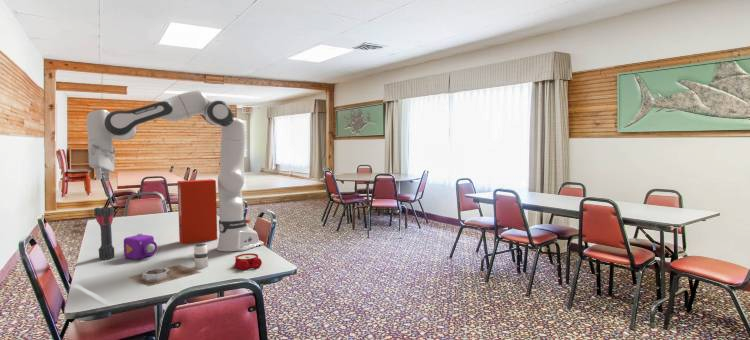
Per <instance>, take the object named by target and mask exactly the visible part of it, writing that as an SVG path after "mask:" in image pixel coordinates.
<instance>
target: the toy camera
mask: <svg viewBox="0 0 750 340" xmlns="http://www.w3.org/2000/svg"><path fill="white" fill-rule="evenodd" d="M157 250H158V244H157V243H156V241H155V239H154V236H153V235H148V234H143V233H137V234H136V235H132V236H128V237H124V238H123V254H124V255H123V256H124V257H125V258H126V259H132V260H141V259H144V258H148V257H152V256H154V255H155V253H156V251H157Z"/></svg>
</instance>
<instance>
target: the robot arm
mask: <svg viewBox="0 0 750 340" xmlns="http://www.w3.org/2000/svg"><path fill="white" fill-rule="evenodd" d="M197 115H200V116H201V117H202V118H203V120H204V121H205V122H207V124H209V125H212V126H219V128H220V129H221V137H220V138H221V141H220V155H219V156H220V157H219V158H220V159H219V161H220V162H219V174H218V177H217V191H218V192H217V193H218V194H217V195H218V206H219V208H218V209H219V220H218V231H219V234H218V235H219V236H218V242H217V248H216V250H217V251H219V252H242V251H247V250H250V249H254V248H257V247H260V246H263V245H264V242H263V241H262V240H259V239H260V237H259V235H258V232H257V231H256V230H254V229H252V228H251V227H249V226H248V224H250V223H251V219H249V218H245V217H244V201H243V192H242V190H243V187H244V184H245V149H246V125H245V122H244V121H243V120H242V119H240V118H238V117H235V115H234V113H233V111H232V108H231V106H230V105H229V104H228V103H227V102H226V101H224V100H214V101H210V100H209V99H208V97H207V95H206V94H205V93H204V92H202V91H201V90H192V91H191V90H190V91H186V92H183V93H180V94H177V95H174V96H171V97H169V98H166V99H163V100H161V101H158V102H155V103H152V104H148V105H145V106H142V107H141V106H140V107H138V108H134V109H129V110H120V109H119V110H114V111H111V112H110V111H108V110H107V109H101V108H100V109H94V110H92V111H90V112H89V113H87V116H86V121H85V122H86V124H85V125H86V132H87V135H88V136H87V149H88V150H87V151H88V166H89V168H92V169H93V172H94V173H95V178H96V180H102V179H103V182H105V183H107V182H108V183H109V182H110V181H111V178H110V177H111V173H113V172H115V168H116V166H115V163H116V162H115V160H116V159H115V155H116V149H115V147H114V144H113V143H114V142H113V140H117V141H128V140H131V139H133V138H134V137H135V136H136V134H137V132H138V131H137V129H138V128H137V126H138V125H141V124H144V123H148V122H151V121H155V120H158V119H162V120H167V121H170V122H178V121H179V122H180V121H183V120H186V119H188V118H192V117H194V116H197ZM102 173H103V174H102ZM103 176H104V177H103ZM259 245H260V246H259ZM256 246H257V247H256Z"/></svg>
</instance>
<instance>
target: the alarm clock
mask: <svg viewBox="0 0 750 340" xmlns="http://www.w3.org/2000/svg"><path fill="white" fill-rule="evenodd" d="M234 258H235V259H234V260H235V261H234V264H233V267H234V268H235V269H238V270H241V271H245V270H248V269H252V268H254V269H259V268H260V267H262V264H263V263H262V262H263V261H262V259H261V258H259V255H258V254H257V253H248V252H247V253H241V254H238V255H236V256H234ZM258 267H259V268H258Z"/></svg>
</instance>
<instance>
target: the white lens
mask: <svg viewBox="0 0 750 340" xmlns="http://www.w3.org/2000/svg"><path fill="white" fill-rule="evenodd" d="M208 255H209V253H208V243H195V244H194V245H193V256H194V257H193V258H194V268H195V269H197V270H198V269H199V270H200V269H205V268H206V269H207V268H208V266H209V258H208V257H209V256H208Z"/></svg>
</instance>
